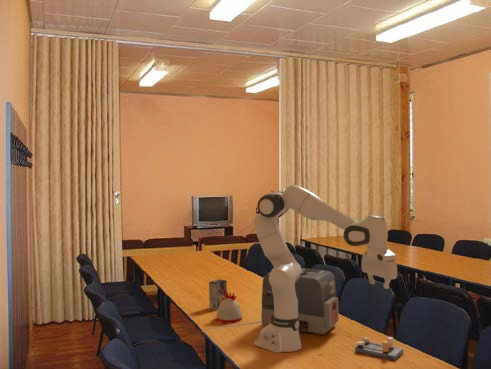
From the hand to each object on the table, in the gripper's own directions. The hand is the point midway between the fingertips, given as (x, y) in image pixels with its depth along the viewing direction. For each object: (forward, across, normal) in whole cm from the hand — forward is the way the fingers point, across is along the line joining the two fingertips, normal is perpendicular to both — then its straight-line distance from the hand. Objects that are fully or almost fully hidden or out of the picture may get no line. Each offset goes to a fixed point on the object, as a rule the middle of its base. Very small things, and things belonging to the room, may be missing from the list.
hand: (379, 286), depth 212 cm
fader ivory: (+30, -7, +9) cm, 32 cm away
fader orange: (+30, -3, +4) cm, 30 cm away
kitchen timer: (+29, -82, -39) cm, 96 cm away
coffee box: (+28, -106, -38) cm, 116 cm away
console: (+32, -8, +5) cm, 33 cm away
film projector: (+31, -54, -10) cm, 62 cm away
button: (+29, -16, +3) cm, 34 cm away
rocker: (+28, -13, -2) cm, 31 cm away
